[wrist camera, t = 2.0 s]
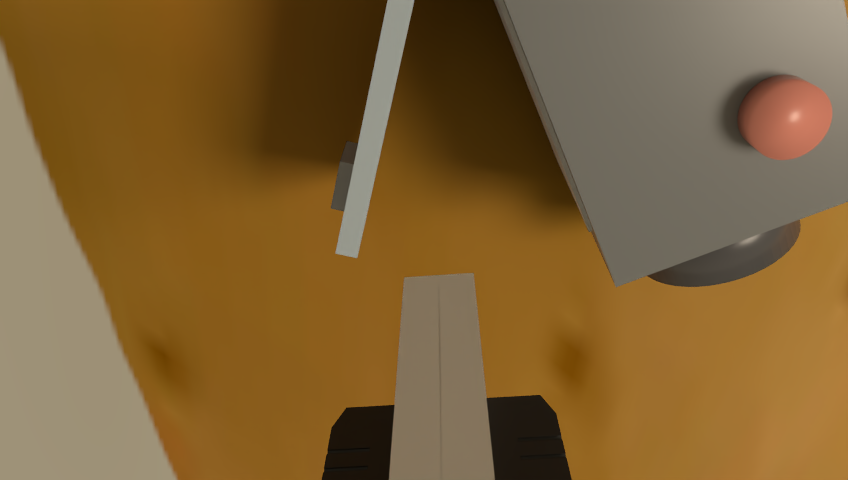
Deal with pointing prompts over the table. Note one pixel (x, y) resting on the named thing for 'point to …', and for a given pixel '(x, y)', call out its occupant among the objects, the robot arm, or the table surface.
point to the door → (370, 131)
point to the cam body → (690, 124)
